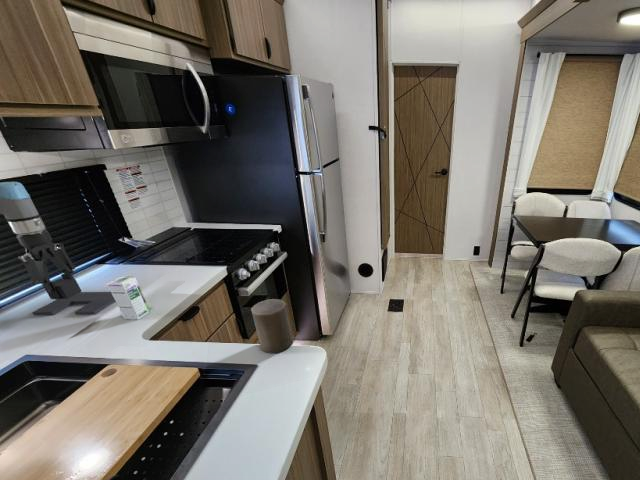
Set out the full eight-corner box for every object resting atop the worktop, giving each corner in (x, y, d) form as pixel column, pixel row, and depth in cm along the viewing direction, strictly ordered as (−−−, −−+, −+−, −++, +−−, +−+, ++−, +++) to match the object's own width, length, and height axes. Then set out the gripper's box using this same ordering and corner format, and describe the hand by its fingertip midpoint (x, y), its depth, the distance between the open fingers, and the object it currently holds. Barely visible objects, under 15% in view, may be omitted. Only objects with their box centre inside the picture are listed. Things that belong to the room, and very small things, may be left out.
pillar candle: (295, 348, 102) (286, 306, 94) (261, 357, 98) (250, 313, 91) (291, 332, 109) (283, 292, 102) (259, 339, 106) (249, 298, 99)
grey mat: (35, 318, 119) (32, 312, 118) (73, 297, 133) (70, 292, 132) (96, 317, 119) (93, 311, 118) (128, 296, 133) (125, 291, 132)
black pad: (50, 299, 117) (43, 286, 114) (65, 291, 122) (58, 279, 120) (67, 298, 117) (60, 286, 114) (81, 291, 122) (75, 278, 120)
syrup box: (138, 320, 118) (122, 283, 111) (123, 319, 118) (106, 282, 111) (150, 311, 123) (135, 276, 116) (136, 311, 123) (120, 275, 116)
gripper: (13, 240, 100) (52, 307, 111) (68, 224, 117) (97, 283, 128) (-12, 241, 100) (30, 307, 111) (47, 224, 117) (78, 283, 128)
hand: (66, 294), depth 119 cm, fingers closed on black pad, 6 cm apart
